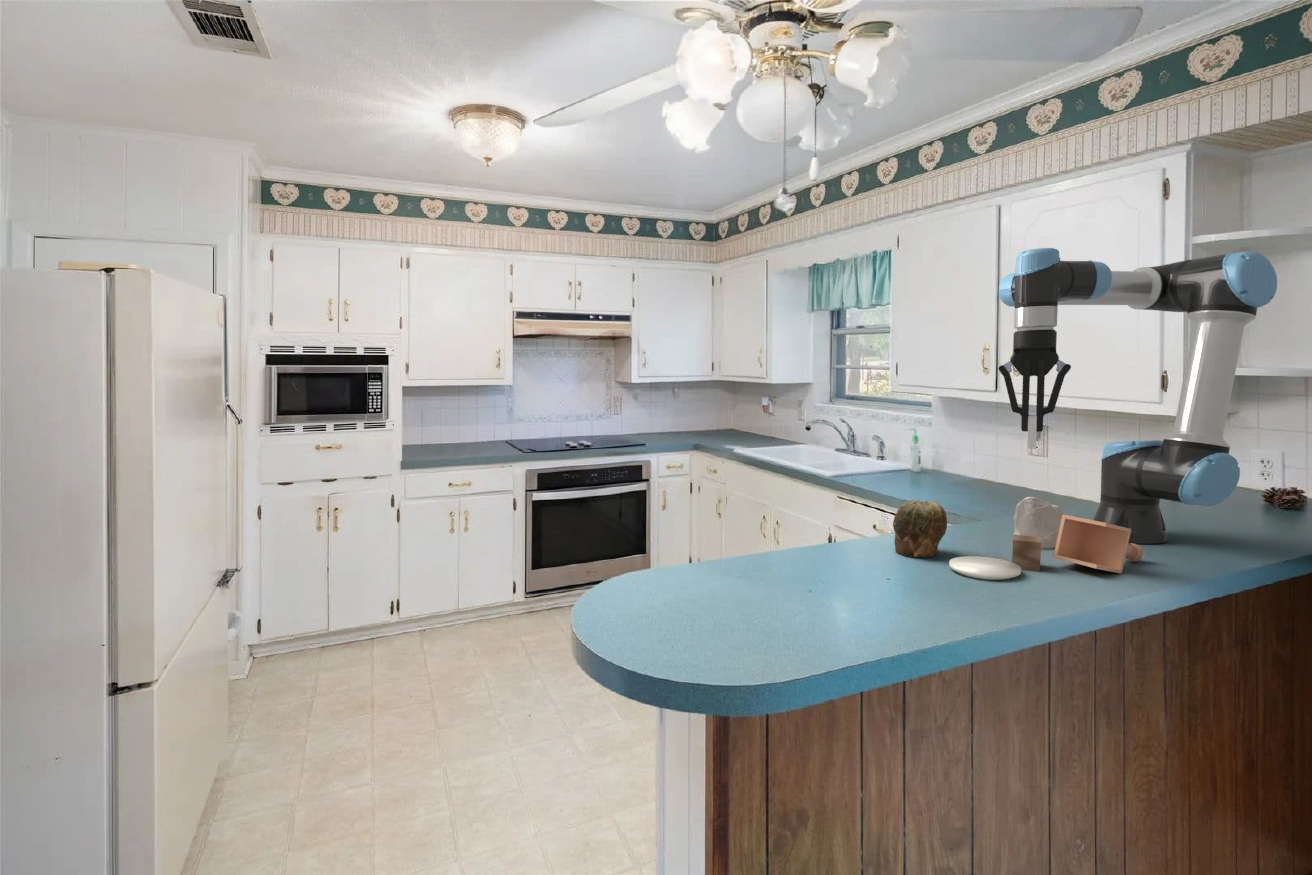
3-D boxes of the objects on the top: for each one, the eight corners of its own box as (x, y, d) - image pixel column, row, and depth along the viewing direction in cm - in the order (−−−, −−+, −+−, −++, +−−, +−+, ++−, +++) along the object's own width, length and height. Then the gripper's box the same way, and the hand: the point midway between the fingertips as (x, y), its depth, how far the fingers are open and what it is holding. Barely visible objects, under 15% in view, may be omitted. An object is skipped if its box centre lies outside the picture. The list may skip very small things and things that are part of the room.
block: (1039, 565, 143) (1040, 537, 143) (1039, 571, 139) (1041, 542, 138) (1012, 562, 146) (1013, 534, 145) (1011, 568, 141) (1013, 539, 141)
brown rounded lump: (938, 563, 146) (939, 506, 145) (886, 555, 153) (887, 501, 151) (952, 552, 155) (953, 498, 153) (902, 545, 161) (903, 494, 160)
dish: (998, 561, 146) (998, 555, 146) (1035, 580, 133) (1035, 573, 133) (937, 563, 146) (938, 557, 145) (968, 582, 133) (968, 575, 133)
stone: (1055, 544, 160) (1058, 494, 159) (1064, 550, 155) (1067, 498, 154) (1008, 543, 162) (1010, 493, 161) (1015, 548, 157) (1017, 497, 156)
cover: (1053, 557, 142) (1112, 569, 150) (1096, 568, 134) (1156, 580, 142) (1062, 514, 142) (1121, 528, 150) (1106, 522, 134) (1165, 537, 142)
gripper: (1071, 328, 138) (1067, 446, 140) (998, 331, 144) (995, 445, 146) (1074, 327, 132) (1070, 451, 134) (997, 330, 137) (994, 449, 140)
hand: (1031, 447), depth 140 cm, fingers closed
